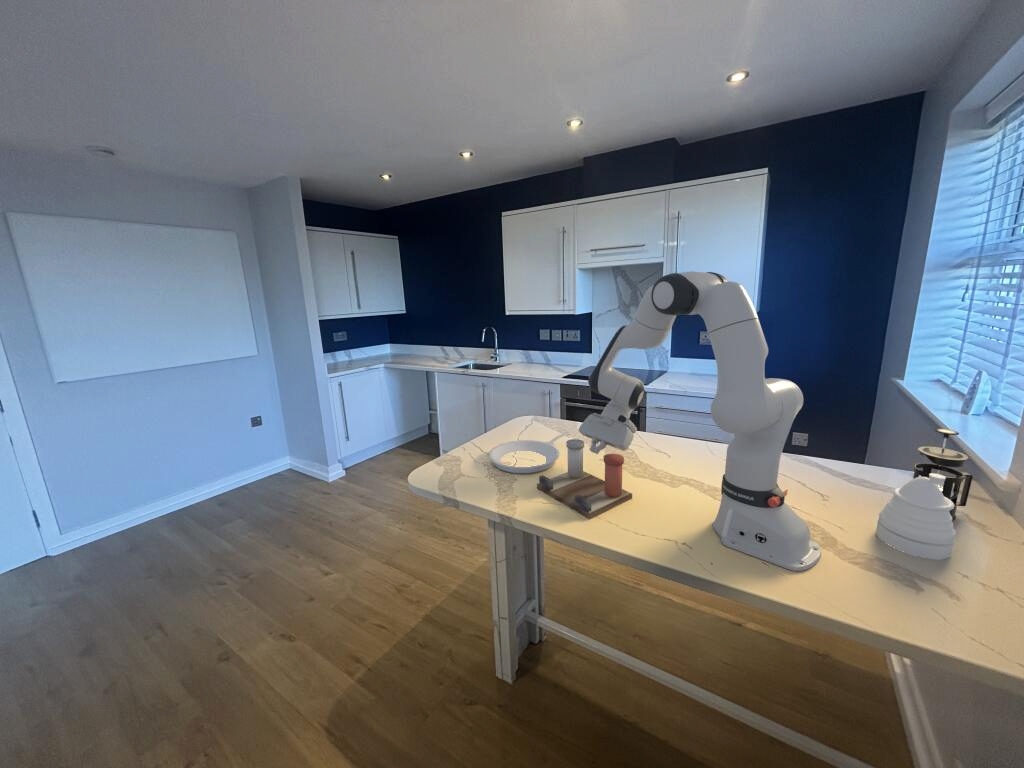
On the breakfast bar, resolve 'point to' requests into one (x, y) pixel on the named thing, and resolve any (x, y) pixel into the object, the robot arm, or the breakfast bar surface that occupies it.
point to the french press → (942, 460)
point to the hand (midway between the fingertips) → (593, 452)
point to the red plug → (613, 474)
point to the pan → (526, 445)
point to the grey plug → (575, 457)
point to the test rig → (582, 493)
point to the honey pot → (919, 519)
